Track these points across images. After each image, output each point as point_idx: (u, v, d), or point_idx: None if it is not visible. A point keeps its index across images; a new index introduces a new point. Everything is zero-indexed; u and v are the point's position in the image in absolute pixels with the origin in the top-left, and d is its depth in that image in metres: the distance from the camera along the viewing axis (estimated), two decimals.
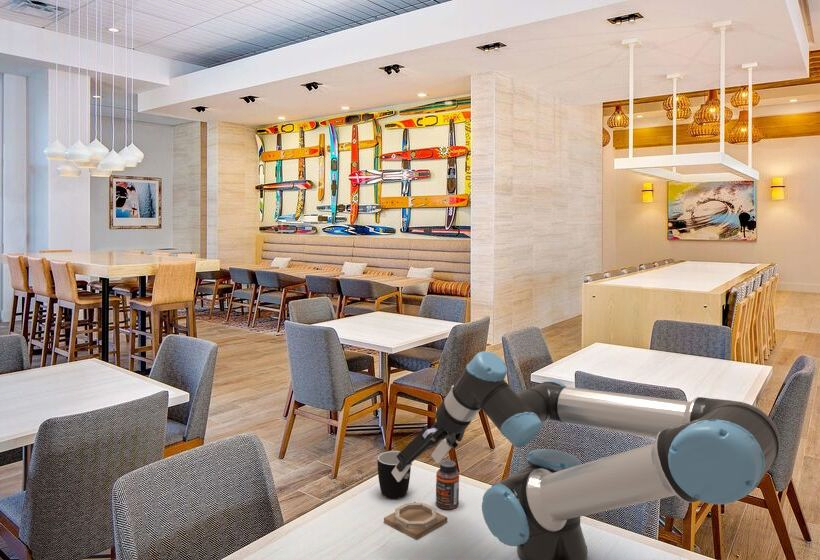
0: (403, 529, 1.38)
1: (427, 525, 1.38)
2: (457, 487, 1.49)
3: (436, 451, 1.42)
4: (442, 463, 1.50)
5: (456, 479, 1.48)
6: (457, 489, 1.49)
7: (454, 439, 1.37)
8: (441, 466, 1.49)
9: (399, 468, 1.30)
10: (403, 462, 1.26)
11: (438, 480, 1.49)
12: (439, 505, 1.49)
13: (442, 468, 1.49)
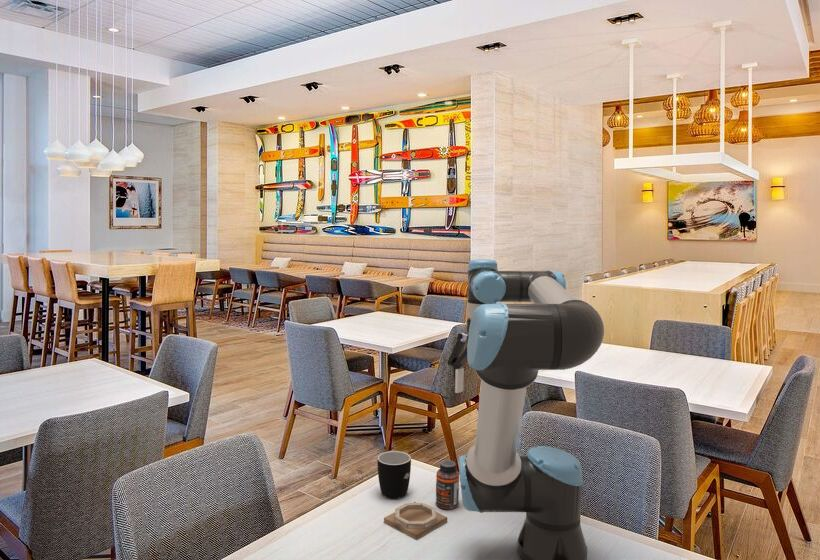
0: (403, 529, 1.38)
1: (427, 525, 1.38)
2: (457, 487, 1.49)
3: None
4: (442, 463, 1.50)
5: (456, 479, 1.48)
6: (457, 489, 1.49)
7: None
8: (441, 466, 1.49)
9: None
10: None
11: (438, 480, 1.49)
12: (439, 505, 1.49)
13: (442, 468, 1.49)
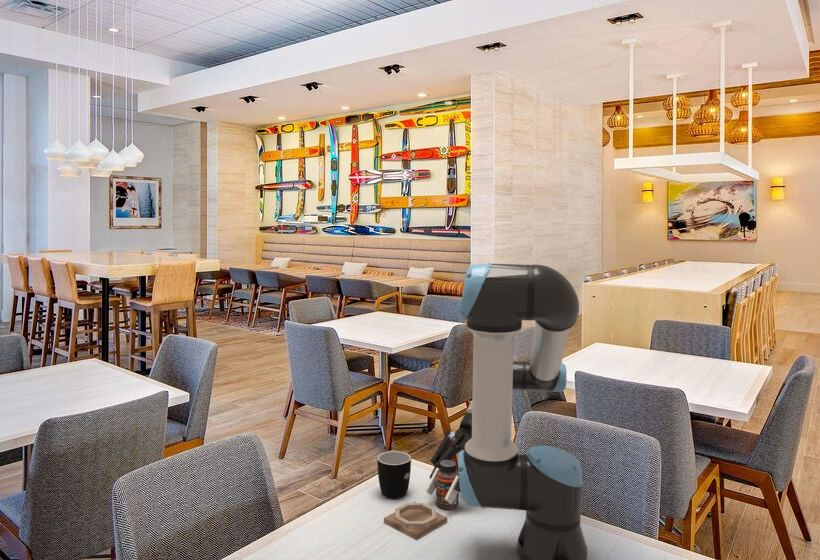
0: (403, 529, 1.38)
1: (427, 525, 1.38)
2: None
3: None
4: (442, 463, 1.50)
5: None
6: None
7: None
8: (441, 466, 1.49)
9: None
10: None
11: (438, 480, 1.49)
12: (439, 505, 1.49)
13: (442, 468, 1.49)
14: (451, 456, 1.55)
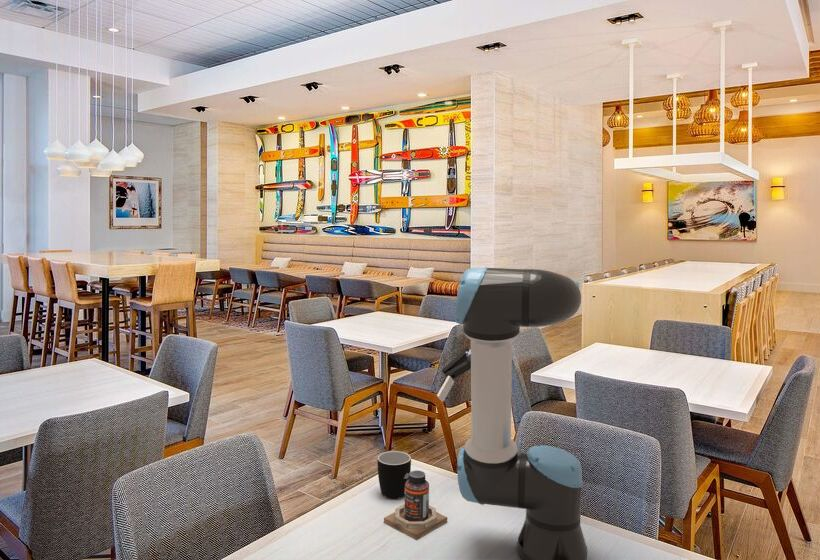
0: (403, 529, 1.38)
1: (427, 525, 1.38)
2: (427, 499, 1.40)
3: None
4: (411, 474, 1.41)
5: (425, 491, 1.39)
6: (427, 501, 1.40)
7: None
8: (410, 477, 1.40)
9: None
10: None
11: (406, 492, 1.40)
12: (407, 518, 1.40)
13: (411, 479, 1.40)
14: (464, 370, 1.59)
